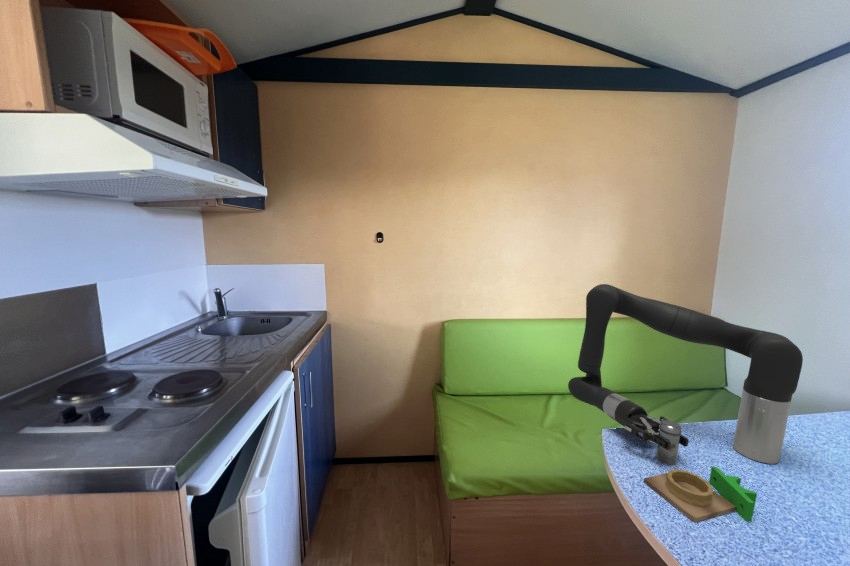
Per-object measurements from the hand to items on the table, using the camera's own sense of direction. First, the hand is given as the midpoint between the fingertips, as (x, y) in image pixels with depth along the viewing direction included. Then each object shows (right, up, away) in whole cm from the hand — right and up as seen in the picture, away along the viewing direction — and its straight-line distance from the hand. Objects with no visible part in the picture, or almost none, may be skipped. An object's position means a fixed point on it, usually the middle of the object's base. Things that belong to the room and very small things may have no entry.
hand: (678, 444), depth 88 cm
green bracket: (+5, -8, -10) cm, 14 cm away
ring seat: (-5, -7, -9) cm, 13 cm away
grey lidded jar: (-1, -6, +3) cm, 7 cm away
